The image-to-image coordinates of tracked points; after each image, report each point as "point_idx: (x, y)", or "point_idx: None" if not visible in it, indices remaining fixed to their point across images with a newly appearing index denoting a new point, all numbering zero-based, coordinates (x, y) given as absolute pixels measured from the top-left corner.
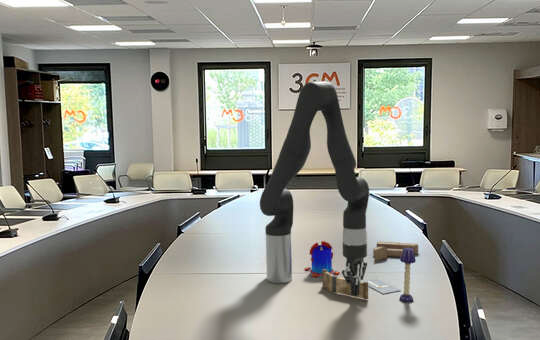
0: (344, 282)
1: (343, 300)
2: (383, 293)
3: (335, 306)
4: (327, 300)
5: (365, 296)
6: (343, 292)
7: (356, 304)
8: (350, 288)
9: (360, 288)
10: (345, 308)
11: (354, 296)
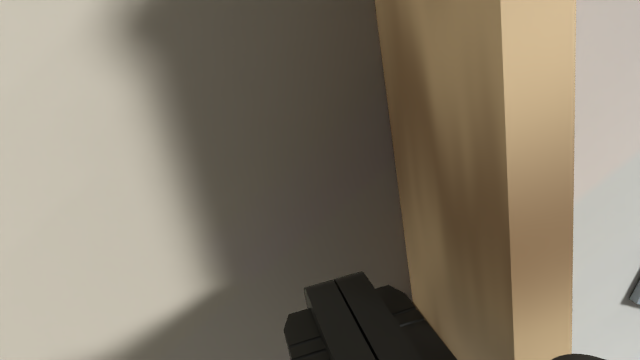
0: (470, 95)
1: (253, 162)
2: (637, 302)
3: (22, 232)
4: (83, 9)
5: None
6: (391, 59)
7: (266, 327)
8: (436, 186)
9: (465, 339)
10: (82, 340)
11: (401, 206)
